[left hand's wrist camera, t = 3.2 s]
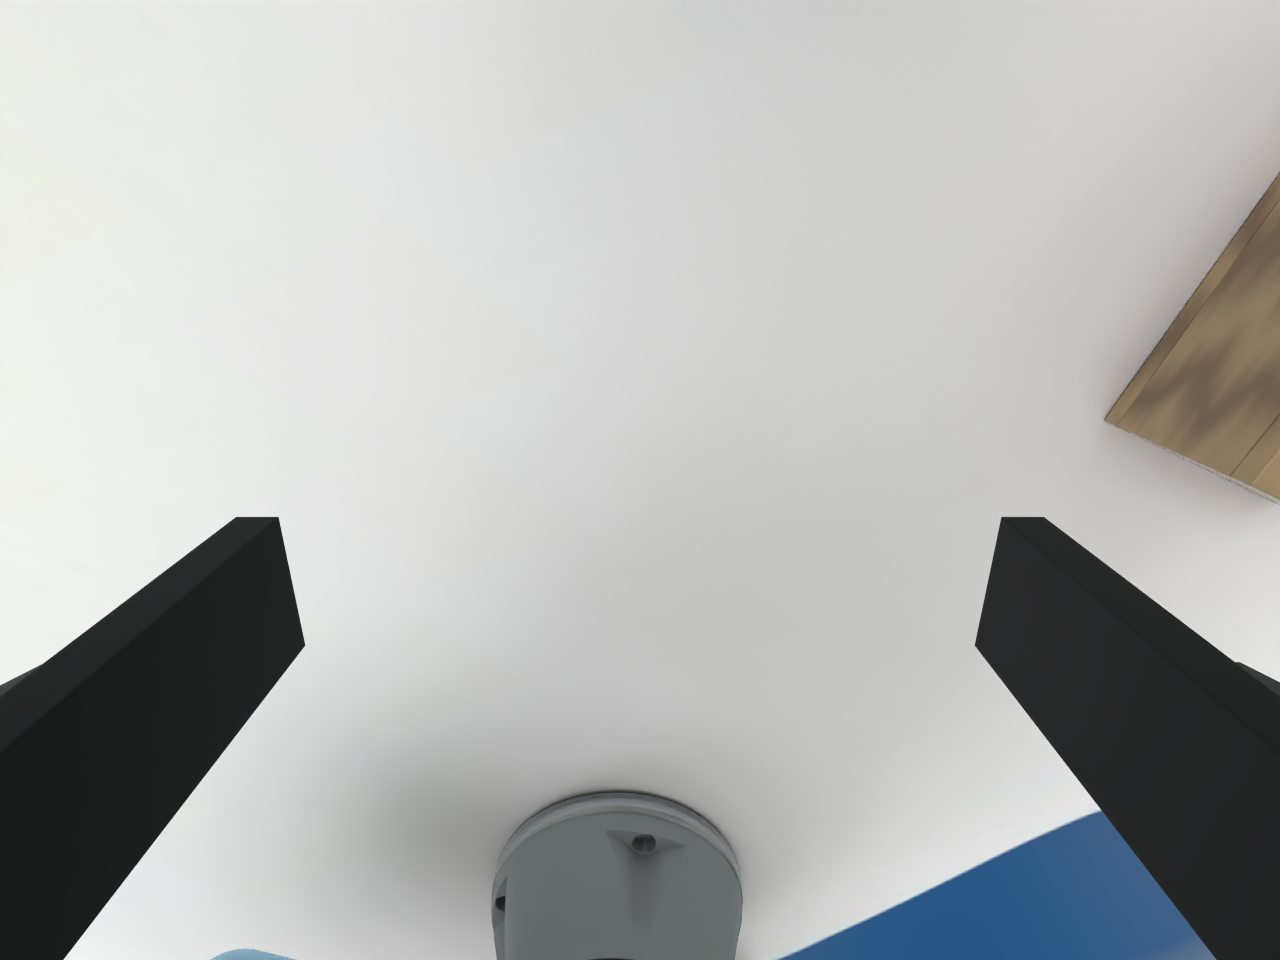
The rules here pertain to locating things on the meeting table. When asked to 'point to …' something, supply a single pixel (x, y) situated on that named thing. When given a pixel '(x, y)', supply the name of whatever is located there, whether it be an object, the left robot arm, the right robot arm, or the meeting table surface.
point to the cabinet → (1221, 366)
